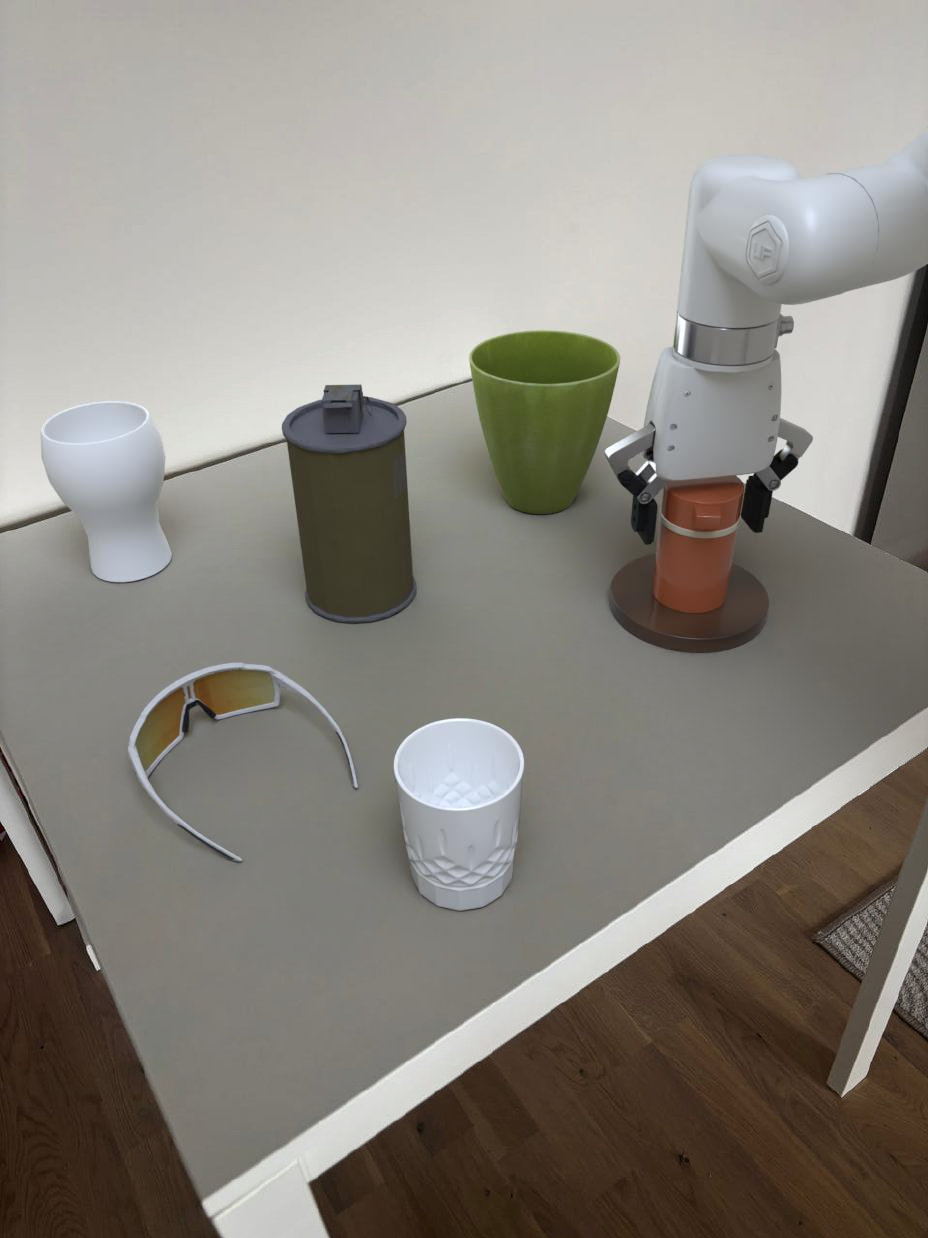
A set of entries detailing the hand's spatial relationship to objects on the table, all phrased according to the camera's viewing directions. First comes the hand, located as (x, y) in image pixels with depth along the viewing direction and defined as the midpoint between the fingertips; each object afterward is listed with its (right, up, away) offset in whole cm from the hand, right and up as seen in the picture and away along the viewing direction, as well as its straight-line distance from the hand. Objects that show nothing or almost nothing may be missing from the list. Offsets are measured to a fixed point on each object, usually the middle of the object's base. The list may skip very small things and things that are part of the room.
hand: (697, 530), depth 84 cm
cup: (-53, -2, +13) cm, 55 cm away
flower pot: (-12, +5, +22) cm, 25 cm away
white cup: (-20, -24, -19) cm, 37 cm away
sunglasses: (-37, -19, -11) cm, 43 cm away
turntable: (0, -6, +5) cm, 8 cm away
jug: (0, -5, +4) cm, 6 cm away
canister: (-30, -5, +8) cm, 31 cm away
